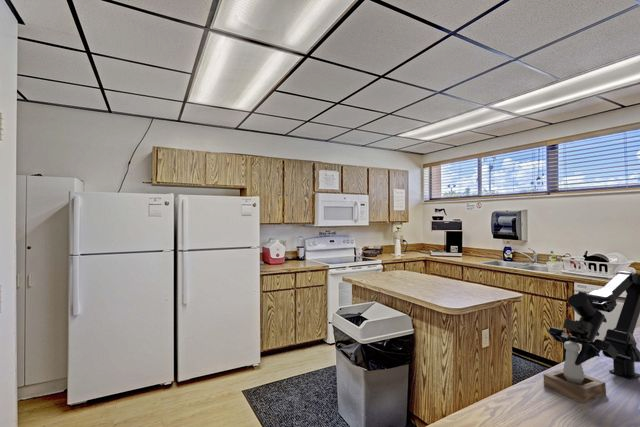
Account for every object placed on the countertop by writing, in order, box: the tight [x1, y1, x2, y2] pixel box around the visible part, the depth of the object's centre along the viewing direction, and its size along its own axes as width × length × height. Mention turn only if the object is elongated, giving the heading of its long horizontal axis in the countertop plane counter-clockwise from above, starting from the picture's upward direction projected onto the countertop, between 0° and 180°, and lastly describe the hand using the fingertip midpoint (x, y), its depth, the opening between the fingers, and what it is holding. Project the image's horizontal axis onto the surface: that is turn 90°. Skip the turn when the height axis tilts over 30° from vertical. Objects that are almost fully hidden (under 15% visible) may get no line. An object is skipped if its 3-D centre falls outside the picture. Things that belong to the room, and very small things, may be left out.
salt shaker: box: [562, 341, 585, 384], centre depth 109 cm, size 6×6×13 cm
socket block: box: [542, 368, 607, 404], centre depth 109 cm, size 12×12×4 cm
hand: (570, 362), depth 109 cm, fingers closed on salt shaker, 3 cm apart
